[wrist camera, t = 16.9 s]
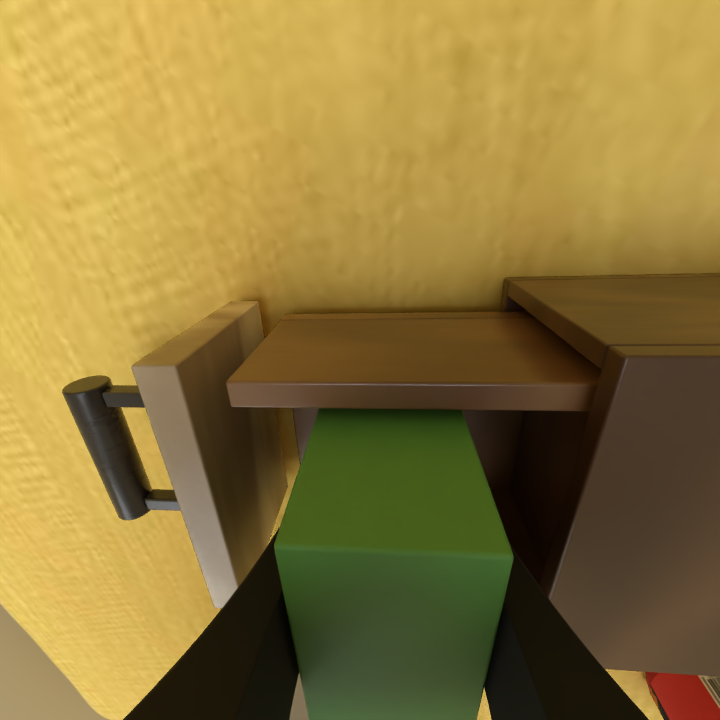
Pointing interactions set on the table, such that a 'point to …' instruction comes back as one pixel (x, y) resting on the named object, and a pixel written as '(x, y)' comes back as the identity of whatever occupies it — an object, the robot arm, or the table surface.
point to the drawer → (335, 390)
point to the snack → (392, 566)
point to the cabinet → (640, 468)
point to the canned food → (685, 695)
